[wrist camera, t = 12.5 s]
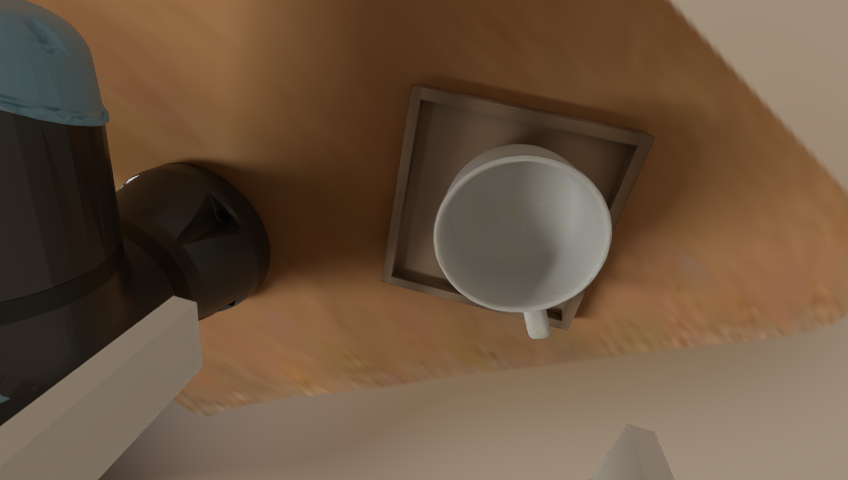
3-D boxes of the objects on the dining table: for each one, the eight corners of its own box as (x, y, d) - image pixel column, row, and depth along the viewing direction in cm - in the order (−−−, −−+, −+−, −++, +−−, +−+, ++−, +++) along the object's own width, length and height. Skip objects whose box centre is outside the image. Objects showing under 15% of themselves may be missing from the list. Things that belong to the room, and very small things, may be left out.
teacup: (444, 136, 30) (424, 162, 23) (594, 126, 28) (624, 151, 21) (456, 290, 36) (443, 349, 29) (581, 292, 33) (601, 356, 26)
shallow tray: (387, 271, 37) (381, 281, 35) (416, 83, 29) (411, 85, 28) (565, 318, 36) (567, 330, 34) (646, 132, 28) (654, 137, 26)
